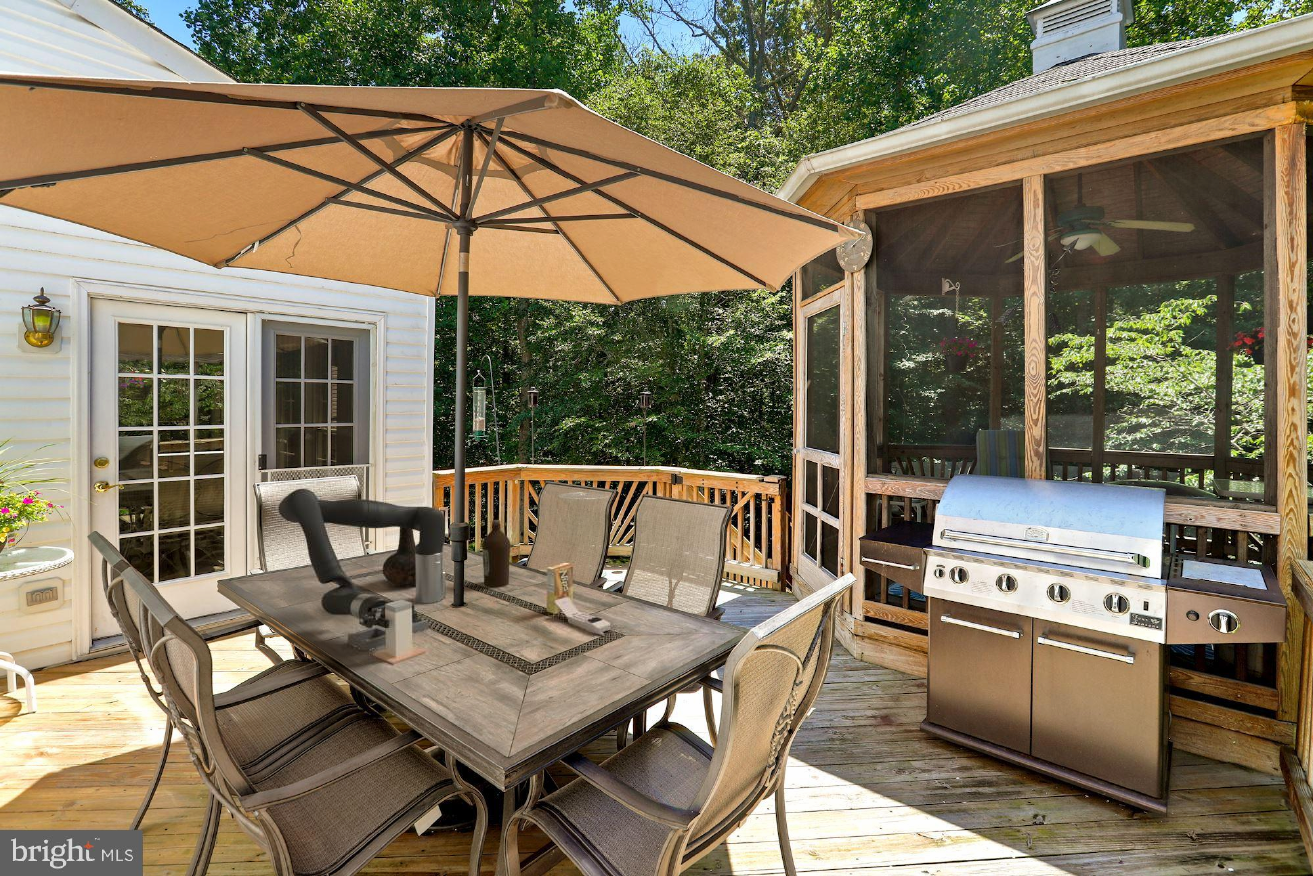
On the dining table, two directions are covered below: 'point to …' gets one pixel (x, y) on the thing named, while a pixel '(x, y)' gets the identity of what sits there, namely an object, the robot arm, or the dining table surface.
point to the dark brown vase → (402, 561)
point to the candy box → (559, 585)
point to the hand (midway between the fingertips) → (402, 620)
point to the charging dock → (379, 635)
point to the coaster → (394, 660)
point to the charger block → (399, 628)
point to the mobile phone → (582, 617)
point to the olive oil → (496, 557)
